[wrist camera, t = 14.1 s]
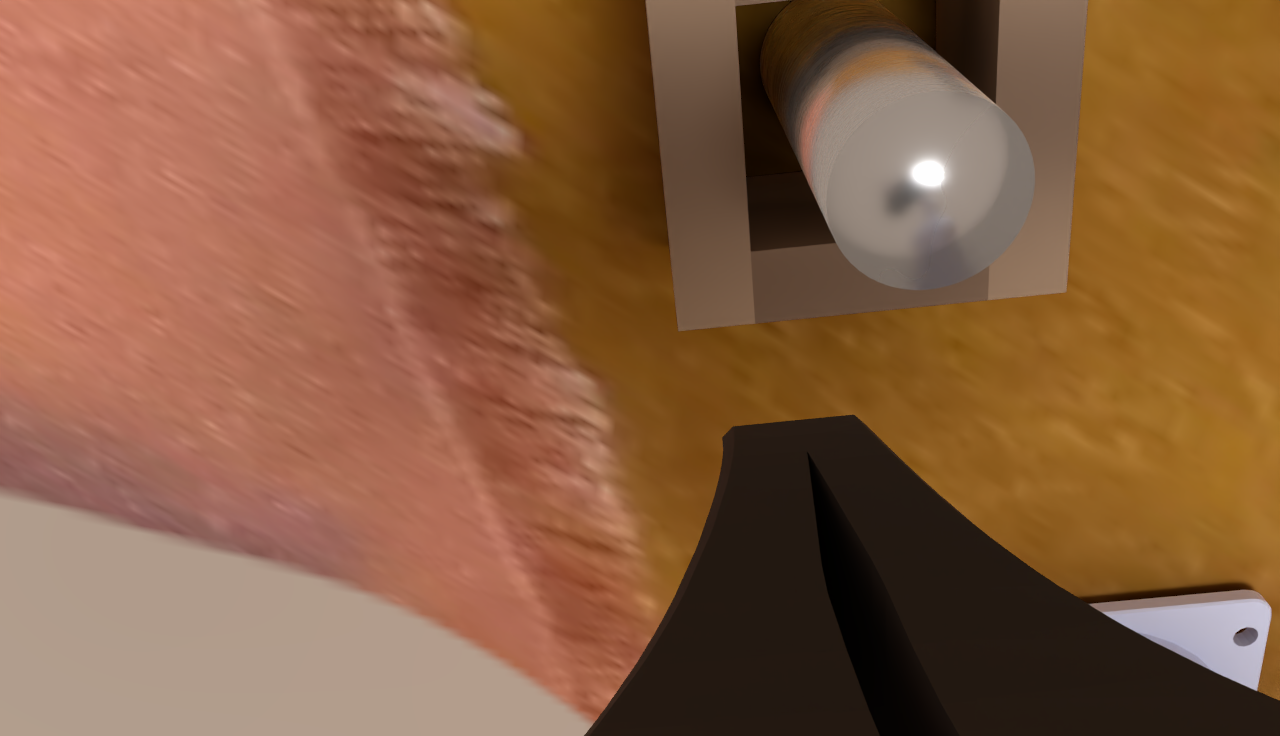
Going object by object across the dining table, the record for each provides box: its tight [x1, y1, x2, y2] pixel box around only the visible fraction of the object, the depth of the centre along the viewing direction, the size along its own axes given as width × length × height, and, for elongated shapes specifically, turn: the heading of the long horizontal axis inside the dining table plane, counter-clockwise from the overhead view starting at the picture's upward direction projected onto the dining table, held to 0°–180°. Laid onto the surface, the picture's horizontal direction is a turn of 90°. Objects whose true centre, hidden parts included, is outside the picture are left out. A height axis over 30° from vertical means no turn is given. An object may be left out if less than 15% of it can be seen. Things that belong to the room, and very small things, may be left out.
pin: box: [760, 0, 1035, 290], centre depth 16 cm, size 2×2×7 cm
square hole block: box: [645, 0, 1088, 331], centre depth 18 cm, size 6×6×4 cm
